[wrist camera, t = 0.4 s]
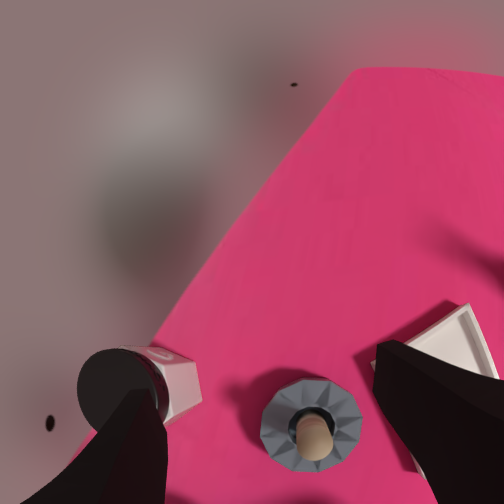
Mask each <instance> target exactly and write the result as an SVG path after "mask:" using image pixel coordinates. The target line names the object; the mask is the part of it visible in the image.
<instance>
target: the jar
mask: <svg viewBox="0 0 504 504" xmlns="http://www.w3.org/2000/svg"><path fill="white" fill-rule="evenodd" d="M145 388H149V390H150V393H151V396H152V398H153V401H154V403H155V406H156V408H157V410H158V413H159V415H160V418H161V420H162V422H163V425H164V427H167V426H169V425H171V424H172V423H174V422H176V421H177V420H178V419H180V418H181V417H182V416H184V415H185V414H186V413H188V412H189V411H190V410H192V409H193V408H194V407H195V406H197V405H198V404H199V403H201V402H202V395H201V390H200V385H199V380H198V375H197V369H196V364H195V362H194V361H192V360H189V359H187V358H184V357H182V356H180V355H177V354H175V353H173V352H170V351H168V350H166V349H163V348H161V347H142V346H125V345H124V346H123V345H121V346H120V347H118V348H117V349H107V350H103V351H100V352H97V353H95V354H94V355H92V356H91V357H90V358H89V359H88V360H87V361H86V362H85V363H84V365H83V367H82V368H81V371H80V373H79V377H78V382H77V396H78V401H79V404H80V408H81V410H82V412H83V415H84V416H85V418H86V420H87V421H88V422H89V424H90V425H91V426H92V427H93V428H94V429H95V430H96V431H97V432H98V431H99V430H100V429H101V428H102V426H103V425H104V424H105V422H106V421H107V420H108V419H109V417H110V416H111V415H112V413H113V412H114V410H115V409H116V408H117V406H118V405H119V404H120V402H121V401H122V400H123V398H124V397H125V396H126V394H127V393H128V392H129V391H130V390H133V389H145Z"/></svg>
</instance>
